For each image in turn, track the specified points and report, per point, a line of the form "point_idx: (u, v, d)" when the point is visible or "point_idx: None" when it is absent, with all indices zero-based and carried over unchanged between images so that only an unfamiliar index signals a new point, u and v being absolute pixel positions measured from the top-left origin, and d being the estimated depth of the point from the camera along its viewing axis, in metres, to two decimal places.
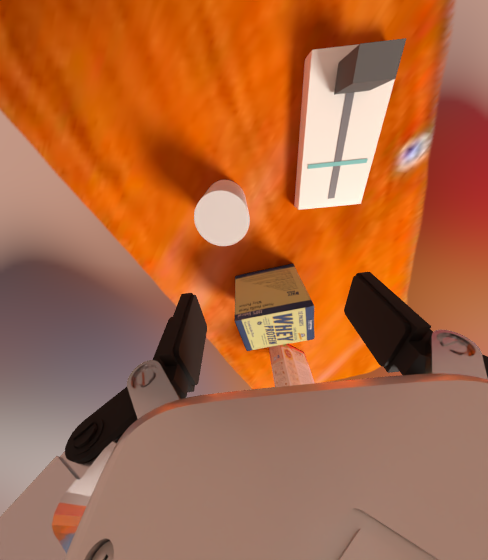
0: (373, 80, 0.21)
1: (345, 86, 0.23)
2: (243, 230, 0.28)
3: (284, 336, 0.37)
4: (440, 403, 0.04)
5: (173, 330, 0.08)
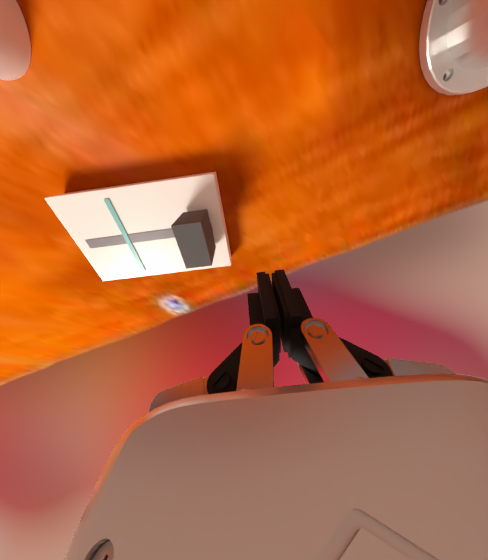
0: (179, 248, 0.19)
1: (176, 220, 0.19)
2: None
3: None
4: (440, 403, 0.04)
5: (267, 300, 0.09)
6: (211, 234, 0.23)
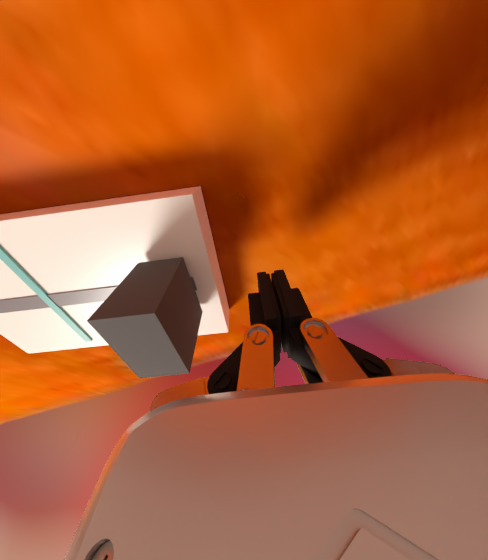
0: (118, 352, 0.09)
1: (112, 294, 0.09)
2: None
3: None
4: (440, 403, 0.04)
5: (267, 300, 0.09)
6: (192, 300, 0.12)
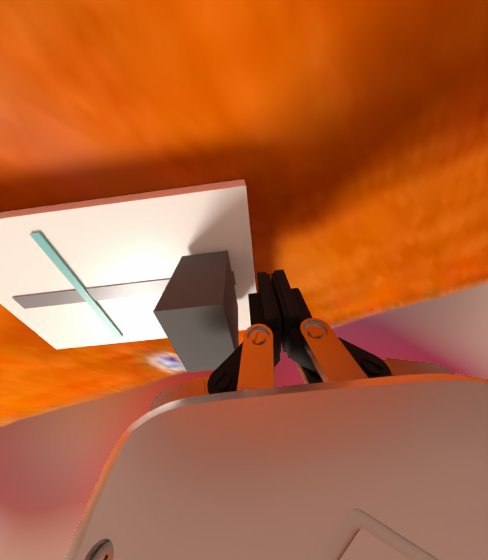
0: (174, 345, 0.09)
1: (168, 286, 0.09)
2: None
3: None
4: (440, 403, 0.04)
5: (267, 300, 0.09)
6: (234, 294, 0.12)
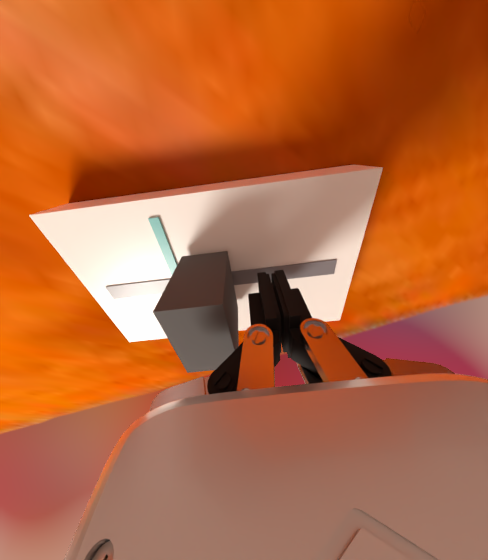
0: (174, 345, 0.09)
1: (168, 286, 0.09)
2: None
3: None
4: (440, 403, 0.04)
5: (267, 300, 0.09)
6: (233, 294, 0.12)
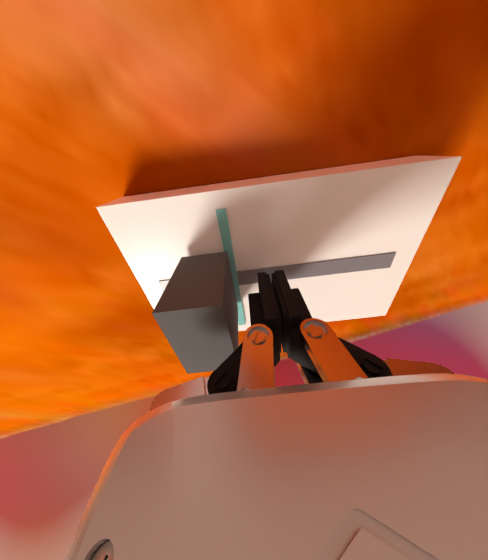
0: (173, 346, 0.09)
1: (167, 287, 0.09)
2: None
3: None
4: (440, 403, 0.04)
5: (267, 300, 0.09)
6: (233, 295, 0.12)
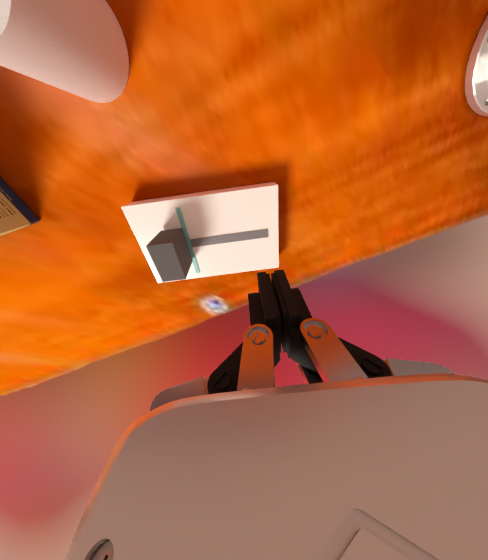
0: (155, 264, 0.22)
1: (152, 239, 0.22)
2: None
3: None
4: (440, 403, 0.04)
5: (267, 300, 0.09)
6: (186, 250, 0.25)
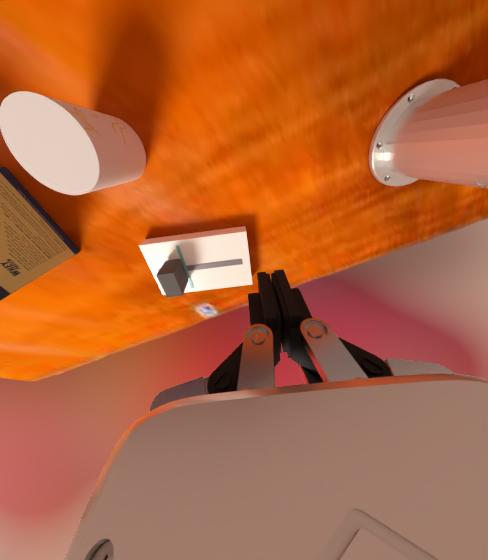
0: (162, 286, 0.32)
1: (160, 269, 0.32)
2: (56, 186, 0.19)
3: None
4: (440, 403, 0.04)
5: (267, 300, 0.09)
6: (184, 274, 0.35)
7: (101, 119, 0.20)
